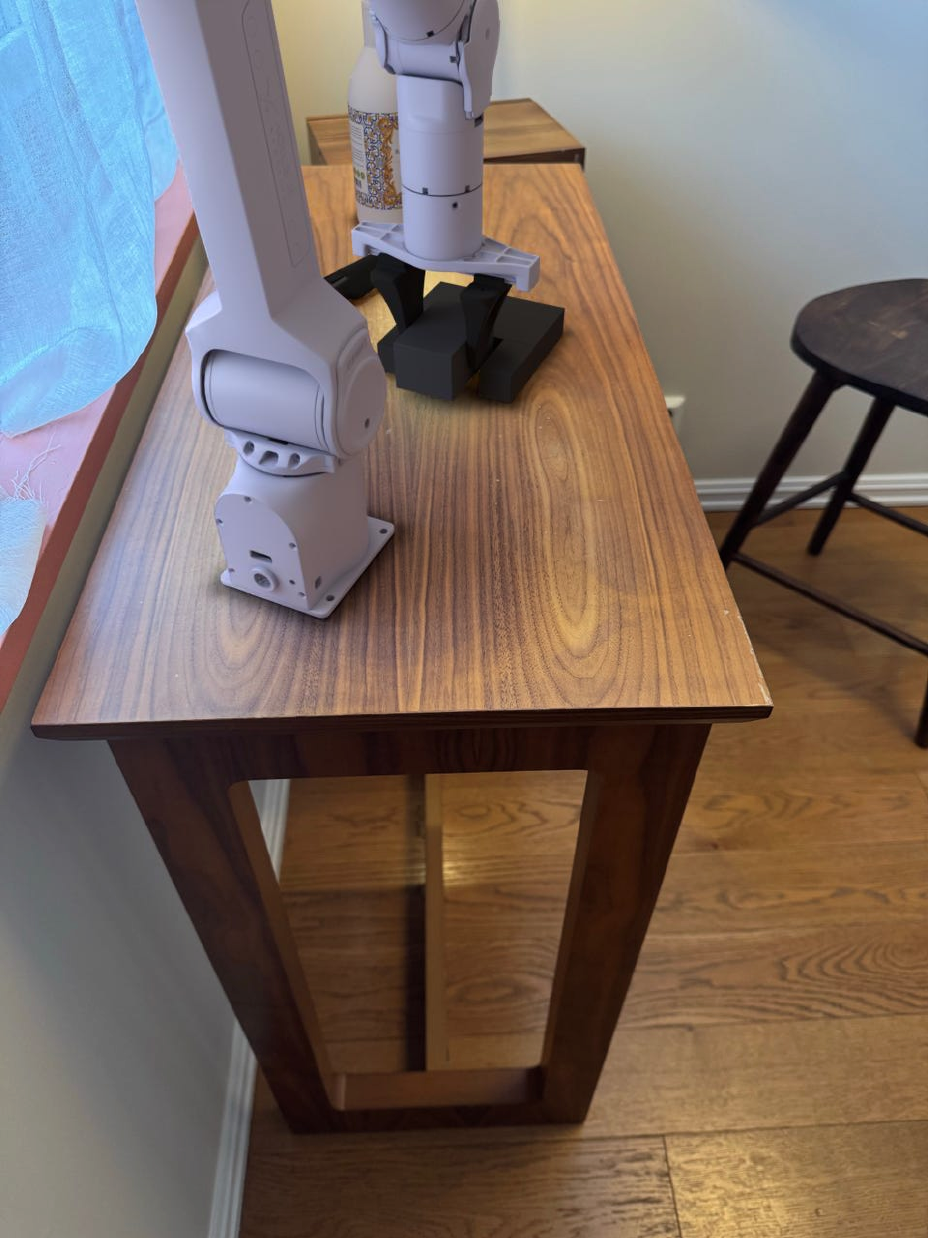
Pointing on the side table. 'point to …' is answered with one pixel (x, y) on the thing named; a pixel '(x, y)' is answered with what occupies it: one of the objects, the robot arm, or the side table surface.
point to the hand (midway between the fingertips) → (445, 355)
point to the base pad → (500, 342)
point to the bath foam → (374, 134)
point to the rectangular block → (435, 352)
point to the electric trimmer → (354, 278)
